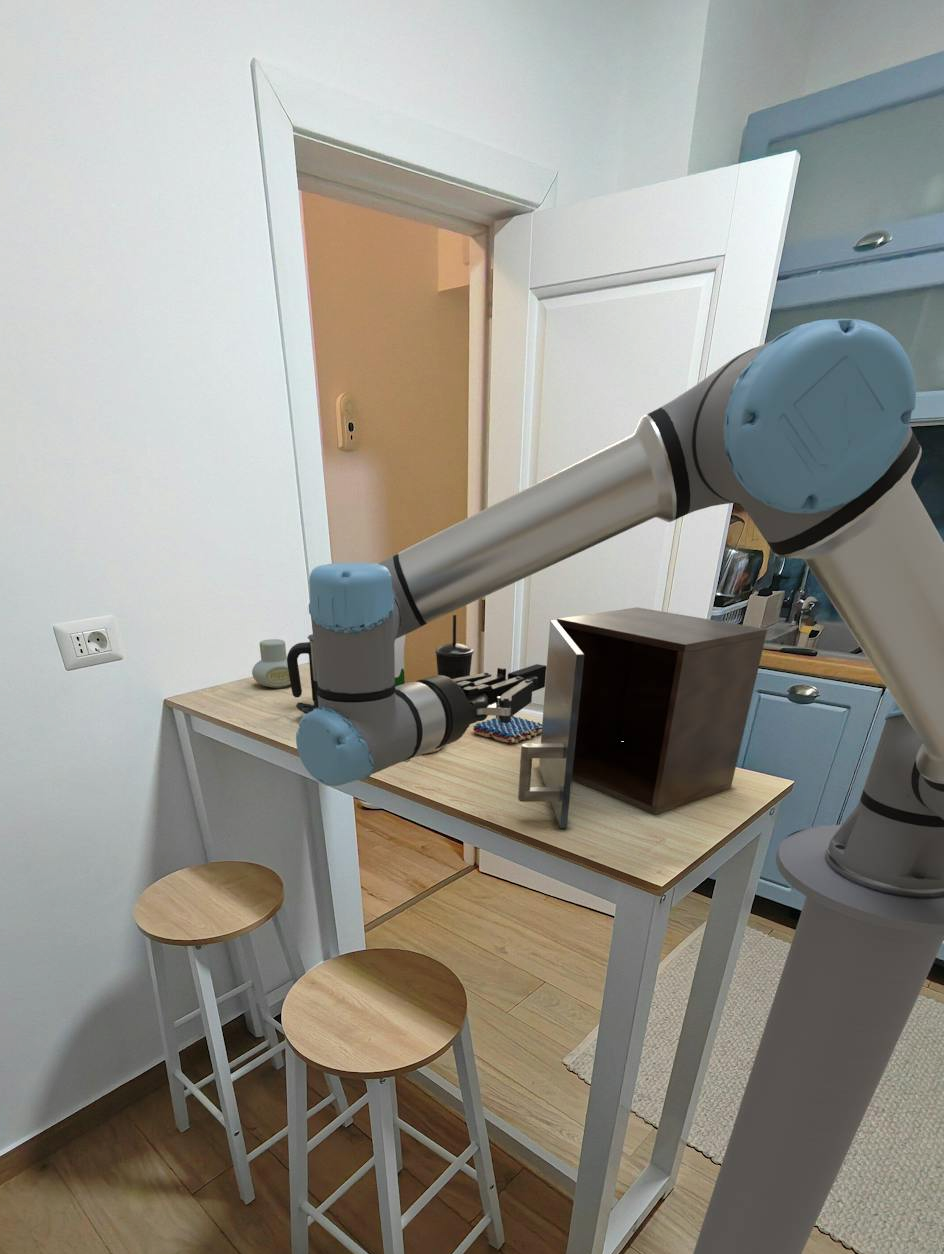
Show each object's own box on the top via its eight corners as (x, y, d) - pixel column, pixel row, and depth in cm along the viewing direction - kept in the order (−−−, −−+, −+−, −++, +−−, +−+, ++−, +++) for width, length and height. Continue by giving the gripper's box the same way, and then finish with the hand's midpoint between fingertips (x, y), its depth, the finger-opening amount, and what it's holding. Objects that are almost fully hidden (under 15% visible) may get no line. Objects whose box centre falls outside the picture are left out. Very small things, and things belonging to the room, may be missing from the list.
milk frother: (350, 700, 158) (346, 630, 150) (370, 719, 145) (366, 644, 138) (287, 707, 154) (279, 635, 146) (302, 727, 141) (294, 650, 133)
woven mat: (546, 733, 137) (547, 723, 136) (511, 746, 131) (512, 735, 130) (505, 722, 143) (506, 712, 142) (470, 734, 137) (470, 723, 136)
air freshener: (258, 691, 165) (252, 646, 159) (250, 683, 171) (244, 640, 166) (304, 686, 168) (299, 642, 163) (294, 678, 175) (290, 636, 170)
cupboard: (655, 815, 104) (685, 644, 92) (544, 768, 121) (557, 618, 109) (731, 788, 113) (767, 629, 100) (617, 747, 130) (637, 607, 117)
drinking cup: (478, 716, 147) (481, 613, 136) (462, 726, 141) (464, 620, 131) (445, 711, 150) (445, 610, 139) (428, 721, 144) (427, 616, 134)
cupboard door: (518, 828, 100) (530, 654, 88) (504, 768, 121) (512, 620, 108) (566, 828, 100) (584, 654, 88) (544, 768, 121) (556, 620, 108)
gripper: (380, 738, 83) (498, 696, 98) (469, 762, 75) (581, 713, 91) (378, 672, 79) (501, 639, 94) (471, 691, 72) (588, 652, 87)
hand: (540, 675), depth 92 cm, fingers closed
